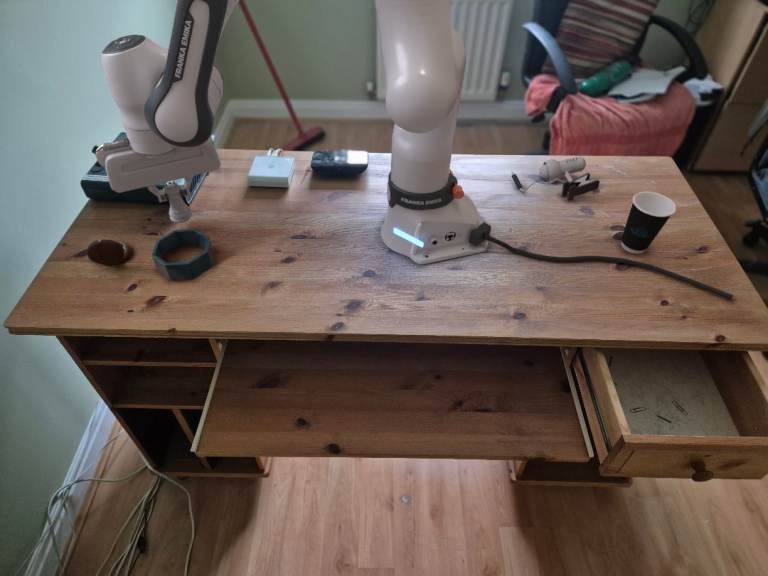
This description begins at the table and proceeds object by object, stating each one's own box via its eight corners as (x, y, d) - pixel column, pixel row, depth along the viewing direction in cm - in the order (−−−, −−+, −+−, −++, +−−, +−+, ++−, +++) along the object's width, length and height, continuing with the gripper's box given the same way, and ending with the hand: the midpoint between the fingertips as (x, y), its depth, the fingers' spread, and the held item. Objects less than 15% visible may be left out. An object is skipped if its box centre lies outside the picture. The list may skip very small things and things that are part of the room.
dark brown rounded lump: (131, 242, 102) (118, 213, 96) (130, 268, 96) (117, 239, 91) (88, 249, 100) (73, 221, 94) (85, 276, 94) (69, 247, 89)
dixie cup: (621, 259, 101) (642, 215, 93) (607, 234, 107) (626, 191, 99) (659, 258, 102) (683, 215, 94) (644, 233, 107) (665, 191, 99)
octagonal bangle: (216, 243, 102) (212, 227, 99) (210, 278, 95) (205, 262, 92) (164, 246, 101) (158, 230, 98) (154, 281, 94) (148, 266, 91)
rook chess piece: (197, 214, 104) (187, 181, 99) (183, 226, 101) (171, 193, 96) (180, 208, 106) (169, 176, 100) (165, 220, 103) (153, 187, 97)
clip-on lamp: (521, 213, 116) (599, 196, 115) (522, 193, 111) (603, 175, 110) (507, 180, 123) (581, 164, 122) (508, 160, 118) (584, 142, 117)
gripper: (93, 155, 85) (121, 219, 95) (214, 130, 91) (229, 193, 101) (89, 137, 88) (117, 201, 98) (206, 115, 95) (221, 177, 105)
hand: (175, 197), depth 100 cm, fingers closed on rook chess piece, 3 cm apart
